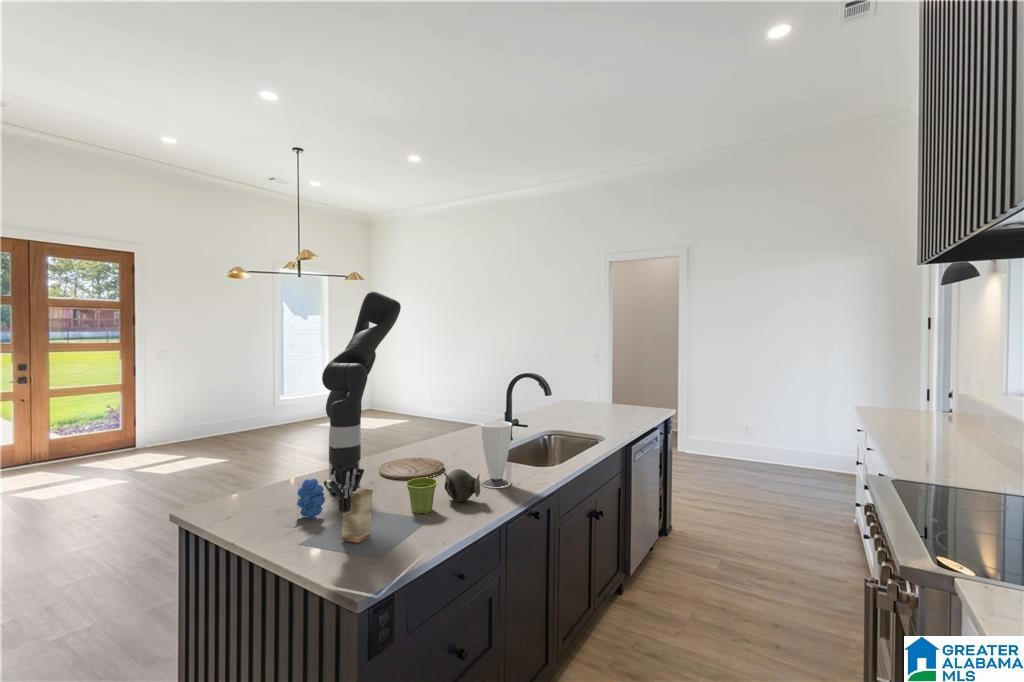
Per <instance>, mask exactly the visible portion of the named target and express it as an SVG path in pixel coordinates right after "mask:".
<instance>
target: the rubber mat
mask: <svg viewBox="0 0 1024 682" xmlns="http://www.w3.org/2000/svg"><path fill="white" fill-rule="evenodd" d="M430 520H431V518H426V517H419V516H413V515H406V514H398V513H391V512H385V511H378V510H377V511H375V510H371V526H370V537H368V538H366V539H364V540H363V541H361V542H359V543H356V542H350V541H344V540H341V539H342V524H343V518H342V519H339V520H338V521H336V522H334V523H333V524H331V525H329V526H327V527H326V528H324V529H322V530H320V531H319V532H317V533H316V534H313V535H312V536H310V537H309V538H307V539H305V540H303V541H301V542H300V543H297V544H298V546H304V547H308V548H309V547H310V548H315V549H319V550H320V549H321V550H325V551H326V550H327V551H332V552H338V553H343V554H349V555H354V556H359V557H360V556H361V557H365V558H372V559H378V560H381V559H382V558H384V557H385V556H387V554H389V553H390V552H391V551H393V550H394V549H395V548H396V547H398V546H399V545H400V544H401V543H402V542H403V541H405V540H406V539H407V538H408V537H410V536H411V535H412V534H413V533H415V532H416V531H418V529H419V528H421V527H422V526H423V525H425V524H426V523H428V521H430Z"/></svg>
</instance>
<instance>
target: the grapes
mask: <svg viewBox="0 0 1024 682" xmlns="http://www.w3.org/2000/svg"><path fill="white" fill-rule="evenodd" d="M297 495H298V496H299V498H298V500H297V502H296V505H297V506H298V508H301V509H300V515H301V516H303V517H306V518H307V519H309V520H314V519H315V518H316V517H317V516H319V515H321V513H322V511H323V507H322V505H324V504H325V501H326V498H325V494H324V487H323V486H322V485H321V484H319V481H318V479H316V478H311V479H304V480H303V482H302V484H301V486H300V488H299V489H298V490H297Z"/></svg>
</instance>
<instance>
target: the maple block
mask: <svg viewBox="0 0 1024 682" xmlns="http://www.w3.org/2000/svg"><path fill="white" fill-rule="evenodd" d="M373 491H374V490H373V489H368V488H361V487H360V488H359V487H358V488H357V490H356V491H354V492H353V493H352V496H351V507H350V511H348V512H347V513H342V519H343V524H342V539H341V540H344V541H350V542H356V543H359V542H361V541H363V540H364V539H366V538H368V537H370V526H371V511H373V495H374V494H373Z"/></svg>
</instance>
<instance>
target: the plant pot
mask: <svg viewBox="0 0 1024 682" xmlns="http://www.w3.org/2000/svg"><path fill="white" fill-rule="evenodd" d="M406 481H407V482H405V486H406V487H407V490H408V493H409V501H410V507H411V508H410V509H411V512H412V513H413V514H417V515H420V514H428V513H430V512H432V511H433V506H434V498H435V491H436V488H437V485H438V482H439V481H438V479H435V478H433V477H430V478H416V479H412V480H406Z"/></svg>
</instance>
